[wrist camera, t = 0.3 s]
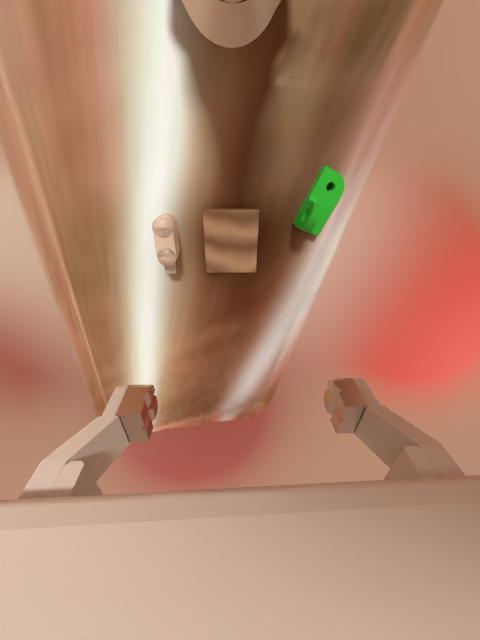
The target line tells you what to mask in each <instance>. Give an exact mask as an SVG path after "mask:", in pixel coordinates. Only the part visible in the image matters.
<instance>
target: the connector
mask: <svg viewBox="0 0 480 640" xmlns="http://www.w3.org/2000/svg"><path fill="white" fill-rule="evenodd" d="M152 228H153V234H154V240H155V246H156V252H157V257H158V260H159V262H160V263H161V264H163V265H165V267H166V273H176V272H177V268H176V260H177V258H178V256H179V253H180V248H179V240H178V231H177V223H176V220H175V218H174V217H173V216H172V215H171V214H168V213H164V214H161V215H160V216H159V217H158V218H156V219H155V220H154V221H153V224H152Z"/></svg>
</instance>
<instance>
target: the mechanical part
mask: <svg viewBox="0 0 480 640" xmlns="http://www.w3.org/2000/svg"><path fill="white" fill-rule="evenodd" d="M329 182H331V184H332V187H331V189H330V190H329V191H327V189H326V186H327V184H328V183H329ZM343 190H344V180H343V178H342V176H341V175H340V174H339V173H337V172H335V171H334V170H332V169H330V168H329V167H327V166H323V167H322V169H321V170H320V172H319V174H318V176H317V178H316V180H315V182H314V184H313V185H312V187H311V189H310V191H309V193H308V195H307V197H306V199H305V200H304V202H303V204H302V206H301V208H300V210H299V212H298V214H297V215H296V217H295V219H294V221H293V224H294V225H295V226H296V227H297V228H299V229H301V230H303V231H305V232H307V233H308V232H310V233H312V234H314V235H316V236H317V235H318V234H319V232H320V230H321V229H322V227H323V225H324V224H325V222H326V220H327V218H328V217H329V215H330V213H331V212H332V210H333V208H334V207H335V205H336V203H337V202H338V200H339V198H340V197H341V195H342V193H343Z"/></svg>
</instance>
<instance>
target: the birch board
mask: <svg viewBox="0 0 480 640" xmlns="http://www.w3.org/2000/svg"><path fill="white" fill-rule="evenodd" d="M202 211H203V227H204V242H205V258H206V273H237V272H256V263H257V243H258V224H259V209H211V208H203V209H202Z"/></svg>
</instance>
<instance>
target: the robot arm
mask: <svg viewBox="0 0 480 640" xmlns="http://www.w3.org/2000/svg"><path fill="white" fill-rule="evenodd" d="M181 1H182V2H183V4H184V6H185V8H186V10H187V12H188V14H189V16H190V18H191V20H192V21H193V23H194V24H195V26H196V27H197V28H198V30H199V31H200V32H201V33H202V34H203V35H204V36H205V37H206V38H207V39H209V40H210V41H212V42H213V43H215V44H217V45H219V46H222V47H227V48H237V47H241V46H244V45H247V44H249V43H250V42H252V41H253V40H255V39H256V38H257V37H258V36H259V35H260V34H261V33H262V32H263V31H264V29H265V28H266V27H267V25H268V24H269V22H270V20H271V18H272V16H273V14H274V12H275V10H276V8H277V6H278V5H279V3H280V2H281V0H181ZM327 386H328V388H329V389H327V390H326V391H325V394H324V404H325V407H326V410H327V412H328V413H330V414H331V415H332V417H331V422H332V425H333V427H334V429H335V432H336V433H354V434H355V435H356V436H357V437H358V438H359V439H360V440H361V441H362V442H363V443H364V444H365V445H366V446H368V447H369V448H370V449H371V450H372V451H373V452H374V453H375V454H376V455H377V456H378V457H379V458H380V459H381V460H382V461H383V462H384V463H385V464H386V465H387V466H388V467H389V468H390V470H389V472H388V473H387V475H386V476H385V478H384V480H376V481H359V482H358V481H357V482H340V483H339V482H338V483H319V484H301V485H300V484H299V485H280V486H262V487H243V488H224V489H205V490H186V491H166V492H147V493H130V494H110V495H103V493H102V491H101V489H100V488H99V487H98V485H97V483H96V481H97V480H98V479H99V478H100V477H101V476H102V474H103V473H104V472H105V471H106V470H107V468H108V467H109V466H110V465H111V464H112V463H113V462H114V461H115V459H116V458H117V457H118V456H119V455H120V454H121V453H122V451H123V450H124V449H125V448H126V447H127V446H128V444H129V442H139V441H149V440H150V436H151V433H152V429H153V425H152V421H153V420H154V419H155V418H156V414H157V408H158V402H157V397H156V396H155V395H154V391H155V389H154V386H153V385H118V386H117V387H116V388H115V390H114V392H113V394H112V396H111V398H110V400H109V402H108V404H107V406H106V408H105V410H104V412H103V414H102V416H101V417H97V418H96V419H94V420H93V421H92V422H91V423H89V424H88V425H87V426H85V427H84V428H83V429H82V430H80V431H79V432H78V433H77V434H75V435H74V436H73V437H72V438H70V439H69V440H68V441H67V442H65V443H64V444H63V445H61V446H60V447H59V448H58V449H56V450H55V451H54V452H53V453H51V454H50V455H49V456H48V457H46V458H45V459H44V460H43V461H41V463H40V465H39V466H38V468H37V469H36V471H35V472H34V474H33V476H32V477H31V479H30V481H29V482H28V484H27V485H26V487H25V489H24V490H23V492H22V493H21V495H20V497H19V498H18V499H15V500H0V640H480V475H470V476H466V475H465V474H464V473H463V472H462V470H461V469H460V468H459V466H458V465H457V464H456V463H455V461H454V460H453V459H452V457H451V456H450V455H449V453H448V452H447V451H446V450H445V448H444V447H443V446H442V444H441V443H439V442H438V441H436V440H435V439H433V438H432V437H430V436H429V435H427V434H425V433H424V432H423V431H421V430H419V429H418V428H417V427H415V426H413V425H412V424H411V423H409V422H407V421H406V420H405V419H403V418H401V417H400V416H398V415H397V414H395V413H394V412H393V411H391V410H390V409H388V408H387V407H385V406H381V405H380V403H379V402H378V400H377V399H376V397H375V396H374V394H373V393H372V391H371V390H370V388H369V387H368V385H367V383H366V382H365V380H364V379H362V378H351V379H350V378H344V379H330V380H329V381H328V384H327Z"/></svg>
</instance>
